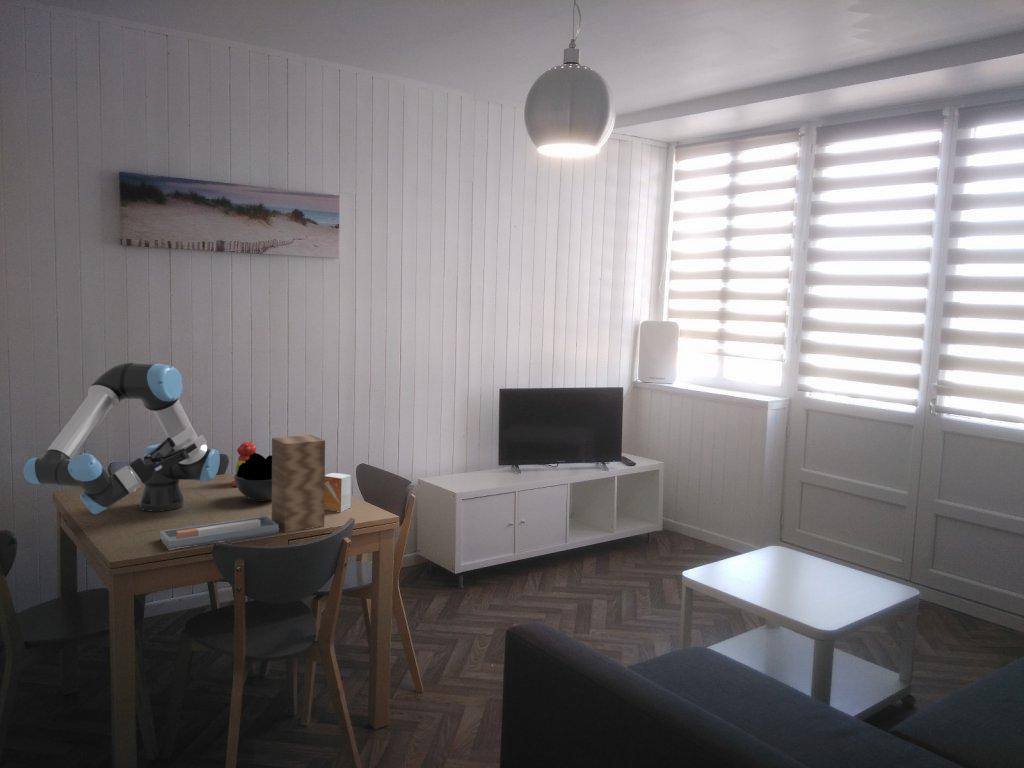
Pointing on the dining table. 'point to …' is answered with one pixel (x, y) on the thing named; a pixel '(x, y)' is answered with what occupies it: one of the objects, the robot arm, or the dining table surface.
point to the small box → (337, 492)
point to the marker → (217, 529)
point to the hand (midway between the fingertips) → (198, 434)
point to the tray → (265, 529)
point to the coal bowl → (255, 477)
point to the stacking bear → (244, 455)
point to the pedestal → (298, 482)
